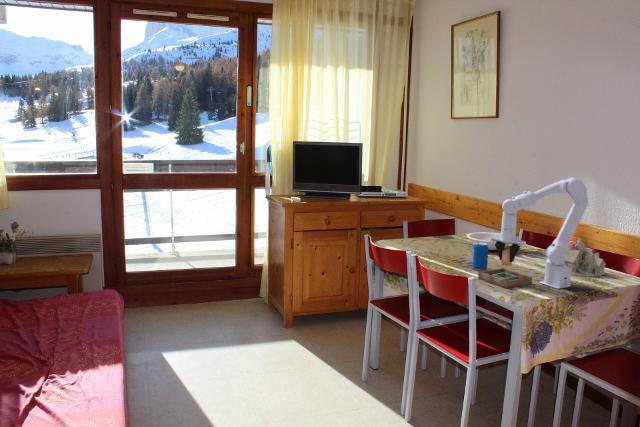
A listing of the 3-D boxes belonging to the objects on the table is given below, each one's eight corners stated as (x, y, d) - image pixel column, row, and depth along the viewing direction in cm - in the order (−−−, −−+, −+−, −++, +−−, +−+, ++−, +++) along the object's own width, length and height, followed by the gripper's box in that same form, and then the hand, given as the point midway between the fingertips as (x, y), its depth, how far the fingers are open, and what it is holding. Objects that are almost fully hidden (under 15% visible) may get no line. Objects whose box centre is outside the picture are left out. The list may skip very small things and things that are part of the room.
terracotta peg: (513, 264, 232) (514, 250, 231) (509, 266, 229) (510, 252, 228) (503, 262, 234) (504, 248, 233) (499, 264, 231) (500, 250, 230)
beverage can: (470, 267, 253) (471, 241, 252) (484, 267, 253) (486, 242, 251) (474, 271, 247) (475, 244, 245) (488, 271, 247) (490, 245, 245)
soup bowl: (523, 250, 288) (524, 238, 287) (493, 256, 275) (494, 243, 273) (486, 242, 307) (487, 230, 306) (456, 247, 294) (457, 235, 293)
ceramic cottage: (553, 269, 250) (558, 237, 247) (580, 267, 256) (585, 236, 253) (581, 281, 236) (587, 247, 233) (608, 278, 242) (615, 245, 239)
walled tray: (531, 284, 228) (532, 277, 227) (506, 288, 222) (506, 281, 221) (502, 274, 242) (503, 268, 241) (478, 278, 236) (478, 271, 235)
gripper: (530, 229, 227) (527, 262, 229) (496, 225, 237) (494, 256, 239) (522, 232, 222) (520, 265, 224) (488, 227, 232) (486, 258, 234)
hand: (506, 260), depth 231 cm, fingers closed on terracotta peg, 4 cm apart
